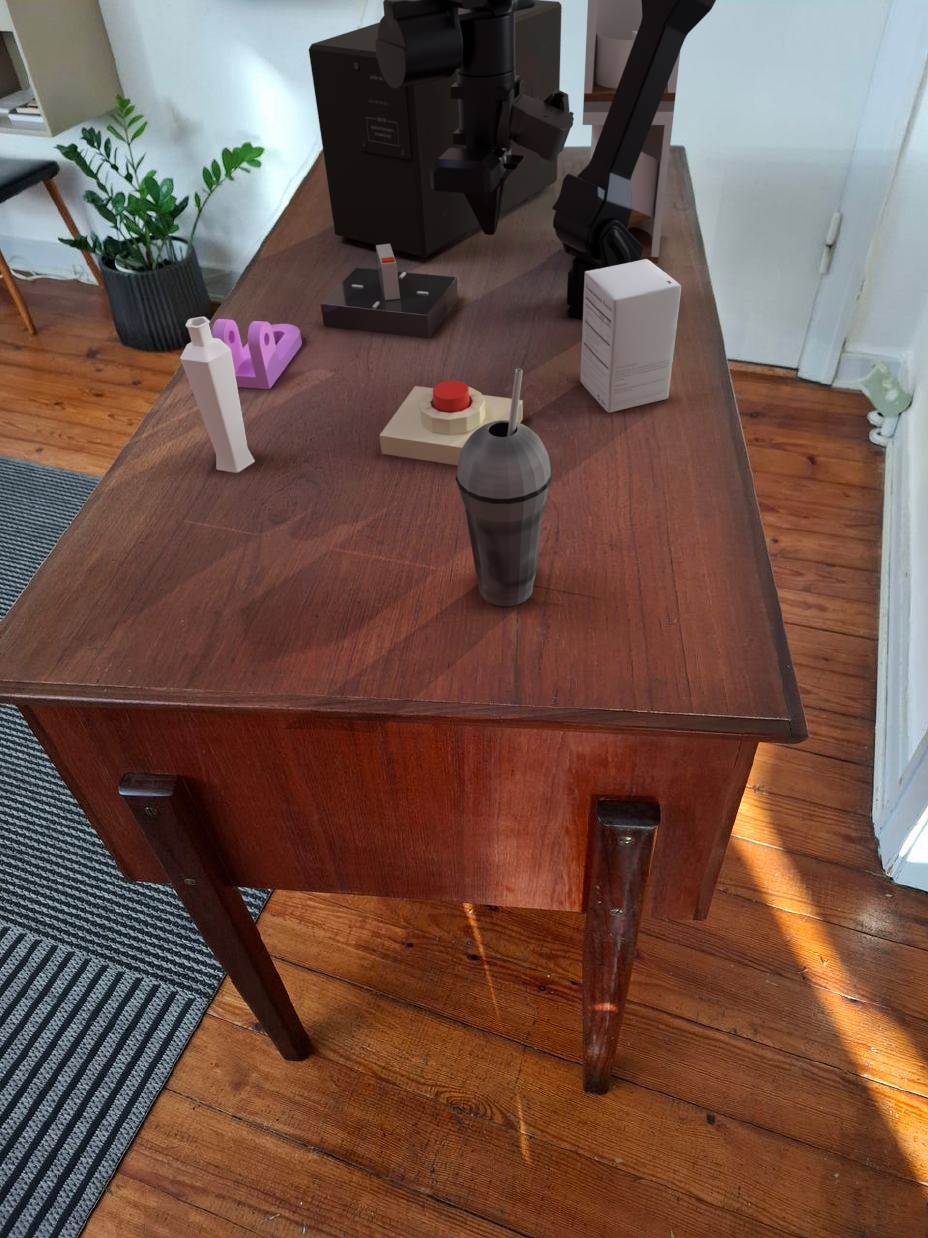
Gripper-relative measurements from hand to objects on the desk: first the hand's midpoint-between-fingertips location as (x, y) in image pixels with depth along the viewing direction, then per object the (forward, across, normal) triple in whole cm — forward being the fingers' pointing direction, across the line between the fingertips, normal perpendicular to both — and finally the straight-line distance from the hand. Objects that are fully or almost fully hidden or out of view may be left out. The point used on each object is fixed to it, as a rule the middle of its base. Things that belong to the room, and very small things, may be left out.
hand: (490, 233), depth 97 cm
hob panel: (+13, +5, +15) cm, 20 cm away
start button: (+9, -20, -2) cm, 22 cm away
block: (+13, -20, -2) cm, 24 cm away
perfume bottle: (+13, -30, +18) cm, 37 cm away
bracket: (+13, -10, +25) cm, 30 cm away
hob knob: (+10, +5, +15) cm, 19 cm away
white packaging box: (+13, -7, -17) cm, 23 cm away
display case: (+13, +29, -9) cm, 33 cm away
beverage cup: (+13, -41, -14) cm, 45 cm away
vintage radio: (+13, +40, +20) cm, 47 cm away
